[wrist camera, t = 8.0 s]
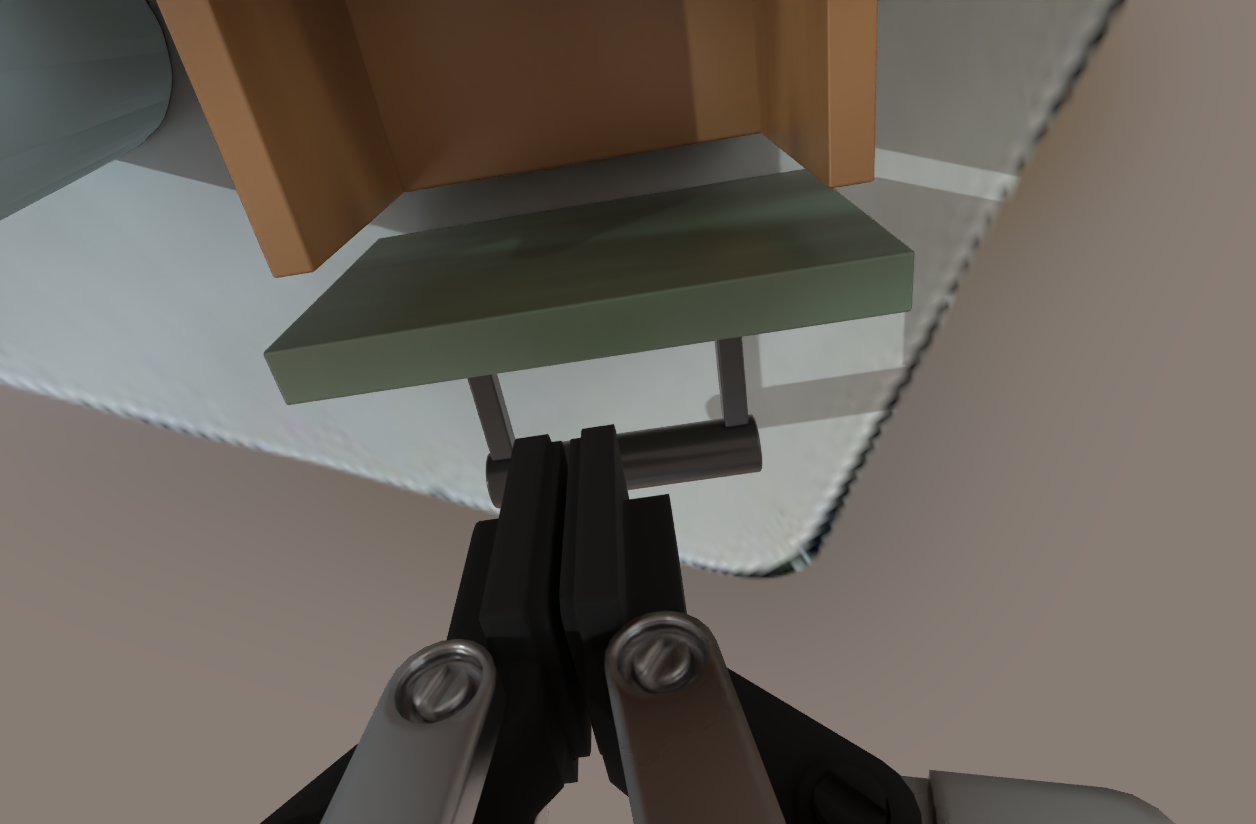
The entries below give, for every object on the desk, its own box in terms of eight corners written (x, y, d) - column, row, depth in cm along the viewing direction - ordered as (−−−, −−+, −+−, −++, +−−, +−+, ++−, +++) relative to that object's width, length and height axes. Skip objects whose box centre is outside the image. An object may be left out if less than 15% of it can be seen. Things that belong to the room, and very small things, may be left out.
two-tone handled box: (814, 369, 23) (901, 522, 16) (440, 424, 23) (371, 593, 17) (791, -575, 13) (993, -1226, 6) (151, -433, 14) (-305, -876, 7)
